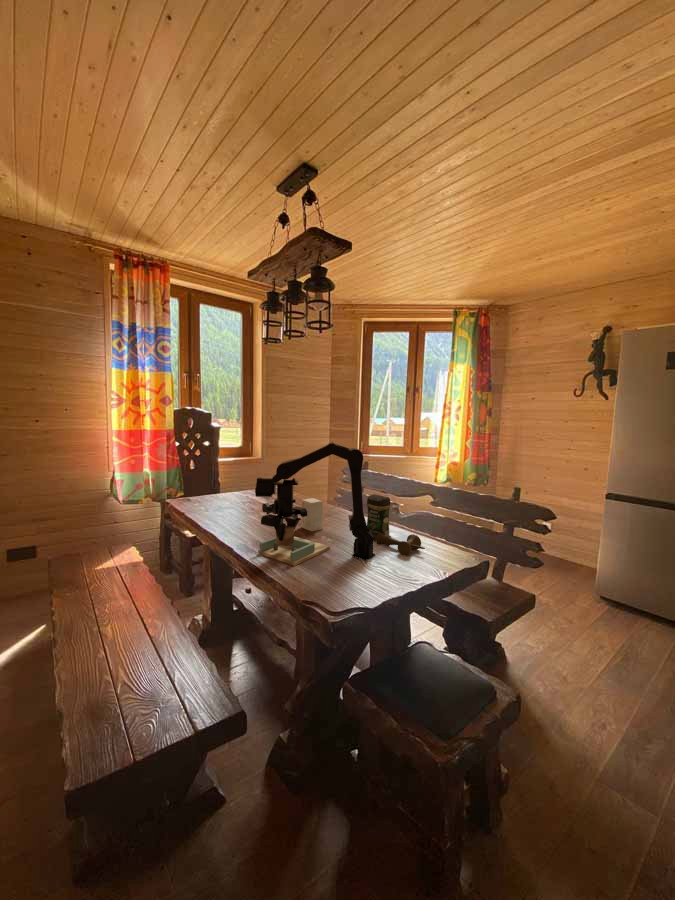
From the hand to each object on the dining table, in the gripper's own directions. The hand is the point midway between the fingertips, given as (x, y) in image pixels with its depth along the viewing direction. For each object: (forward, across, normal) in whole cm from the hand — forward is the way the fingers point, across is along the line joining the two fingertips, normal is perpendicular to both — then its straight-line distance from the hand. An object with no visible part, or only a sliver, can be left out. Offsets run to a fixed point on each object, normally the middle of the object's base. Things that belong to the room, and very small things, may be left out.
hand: (284, 539), depth 135 cm
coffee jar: (+6, -38, +17) cm, 42 cm away
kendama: (+7, -32, +31) cm, 45 cm away
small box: (+6, -31, -13) cm, 35 cm away
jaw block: (+2, 0, 0) cm, 2 cm away
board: (+6, -5, 0) cm, 8 cm away
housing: (+5, -1, 0) cm, 5 cm away
